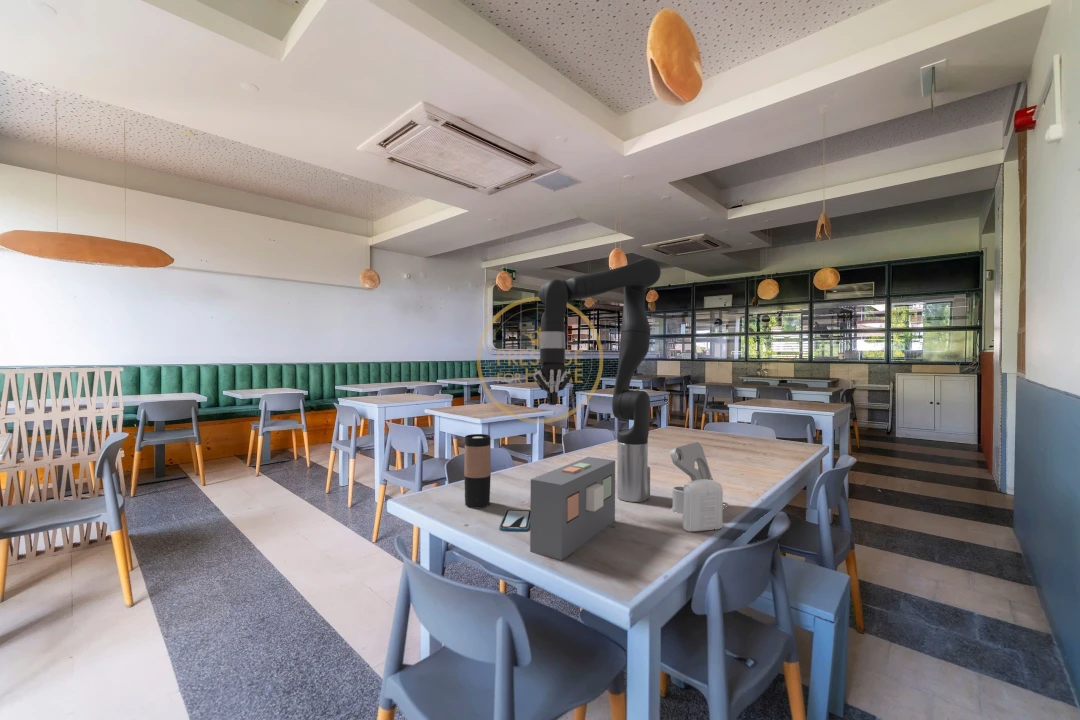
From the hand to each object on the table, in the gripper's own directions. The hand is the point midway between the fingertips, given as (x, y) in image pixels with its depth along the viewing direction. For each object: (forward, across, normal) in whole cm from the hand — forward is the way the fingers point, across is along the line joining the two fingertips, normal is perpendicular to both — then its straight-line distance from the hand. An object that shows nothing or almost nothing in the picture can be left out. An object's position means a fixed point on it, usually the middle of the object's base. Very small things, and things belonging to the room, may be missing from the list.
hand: (552, 404), depth 135 cm
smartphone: (+30, +16, +10) cm, 35 cm away
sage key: (+22, -2, +23) cm, 31 cm away
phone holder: (+29, -35, +24) cm, 52 cm away
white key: (+22, +5, +29) cm, 36 cm away
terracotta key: (+22, +14, +32) cm, 41 cm away
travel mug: (+29, +21, -7) cm, 37 cm away
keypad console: (+29, +7, +26) cm, 39 cm away
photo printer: (+29, -24, +36) cm, 52 cm away
